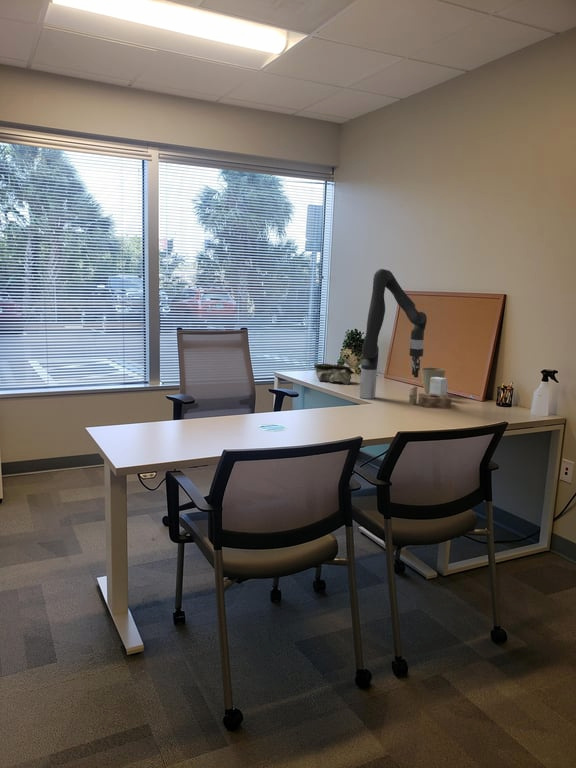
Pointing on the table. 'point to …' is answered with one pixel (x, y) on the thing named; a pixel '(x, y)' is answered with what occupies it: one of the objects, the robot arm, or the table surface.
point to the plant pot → (429, 373)
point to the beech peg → (413, 395)
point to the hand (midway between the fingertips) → (414, 376)
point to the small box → (438, 385)
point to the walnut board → (434, 400)
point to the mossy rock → (333, 373)
